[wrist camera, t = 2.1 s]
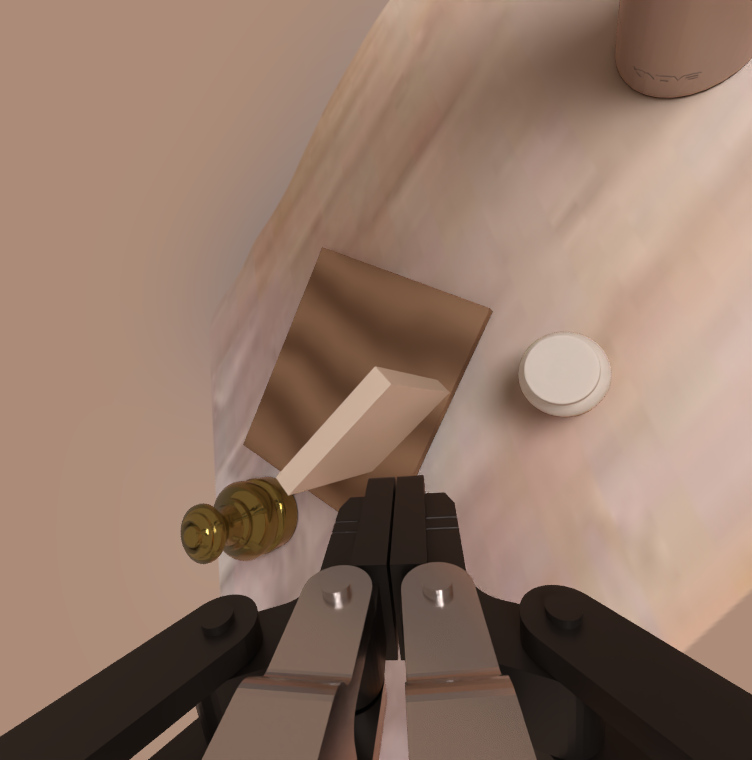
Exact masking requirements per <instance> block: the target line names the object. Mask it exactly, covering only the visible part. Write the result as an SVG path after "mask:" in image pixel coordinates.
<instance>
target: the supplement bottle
mask: <svg viewBox="0 0 752 760" xmlns="http://www.w3.org/2000/svg"><path fill="white" fill-rule="evenodd" d="M518 378H519V384H520V387H521V390H522V392H523V394H524V395H525V397H526V398H527V400H528V401H529V402H530V403H531V404H532V405H533V406H534V407H536V408H537V409H539V410H541V411H542V412H544V413H547V414H550V415H553V416H559V417H571V416H578V415H581V414H584V413H586V412H588V411H590V410H591V409H593V408H594V407H595V406H597V405H598V404H599V403H600V402H601V401H602V399H603V398H604V397H605V395H606V393H607V391H608V389H609V386H610V383H611V366H610V362H609V359H608V357H607V355H606V353H605V352H604V350H603V349H602V348H601V347H600V346H599V345H598V344H597V343H596V342H595V341H593V340H592V339H590V338H588V337H587V336H584V335H582V334H578V333H574V332H556V333H552V334H549V335H546V336H544V337H542V338H540V339H538V340H537V341H535V342H534V343H533V344H532V345H531V346H530V347H529V348H528V349H527V350H526V352H525V353H524V355H523V357H522V359H521V362H520V365H519V370H518Z"/></svg>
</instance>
